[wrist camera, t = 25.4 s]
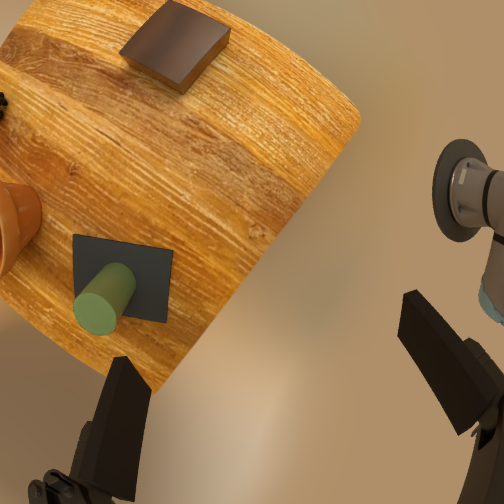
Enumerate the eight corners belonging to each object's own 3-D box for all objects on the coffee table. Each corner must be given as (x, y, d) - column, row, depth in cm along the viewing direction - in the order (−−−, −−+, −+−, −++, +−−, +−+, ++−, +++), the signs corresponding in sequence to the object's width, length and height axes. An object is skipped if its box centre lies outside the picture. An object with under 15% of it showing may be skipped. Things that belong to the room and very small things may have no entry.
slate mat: (173, 250, 37) (172, 251, 37) (166, 321, 41) (166, 323, 40) (74, 233, 34) (72, 234, 34) (76, 303, 38) (75, 304, 37)
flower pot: (35, 270, 35) (-8, 306, 23) (-10, 220, 31) (-56, 241, 18) (69, 204, 33) (17, 225, 21) (18, 152, 29) (-35, 157, 16)
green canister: (137, 265, 37) (115, 298, 27) (135, 301, 38) (117, 340, 29) (100, 259, 36) (71, 288, 26) (100, 294, 37) (75, 330, 28)
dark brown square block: (228, 43, 29) (231, 27, 24) (183, 95, 31) (179, 85, 26) (173, 15, 26) (169, -2, 21) (128, 64, 28) (118, 52, 23)
